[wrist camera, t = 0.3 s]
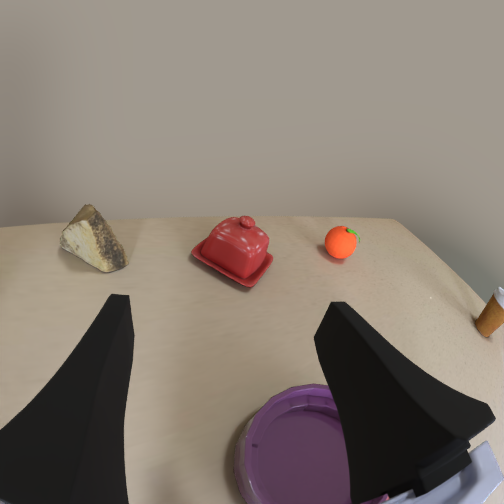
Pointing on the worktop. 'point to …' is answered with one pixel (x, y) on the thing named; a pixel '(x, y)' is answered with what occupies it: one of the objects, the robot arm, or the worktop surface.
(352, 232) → the clementine
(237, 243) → the butter dish
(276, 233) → the worktop surface
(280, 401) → the bowl
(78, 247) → the rock
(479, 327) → the disposable coffee cup
